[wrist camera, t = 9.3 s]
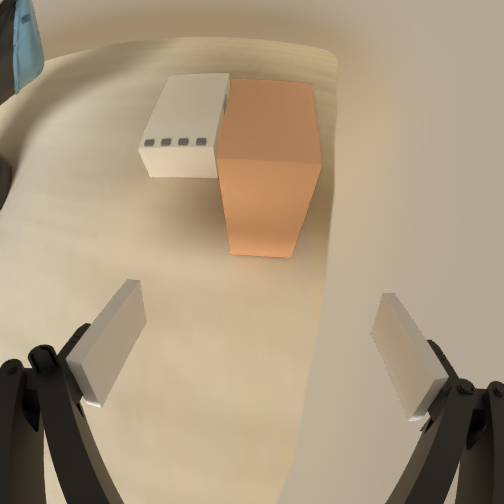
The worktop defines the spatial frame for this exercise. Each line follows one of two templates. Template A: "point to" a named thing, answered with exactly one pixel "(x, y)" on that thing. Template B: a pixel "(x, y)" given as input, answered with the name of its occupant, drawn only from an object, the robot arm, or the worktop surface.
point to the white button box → (186, 127)
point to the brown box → (268, 164)
